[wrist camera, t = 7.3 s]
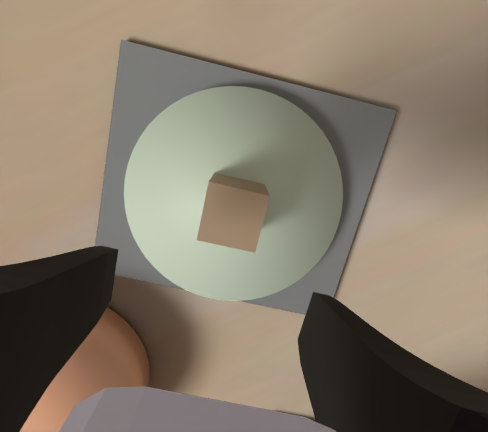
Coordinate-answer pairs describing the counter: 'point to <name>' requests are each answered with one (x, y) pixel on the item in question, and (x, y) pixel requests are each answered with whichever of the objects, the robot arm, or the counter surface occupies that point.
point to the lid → (233, 193)
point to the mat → (213, 75)
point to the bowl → (92, 372)
